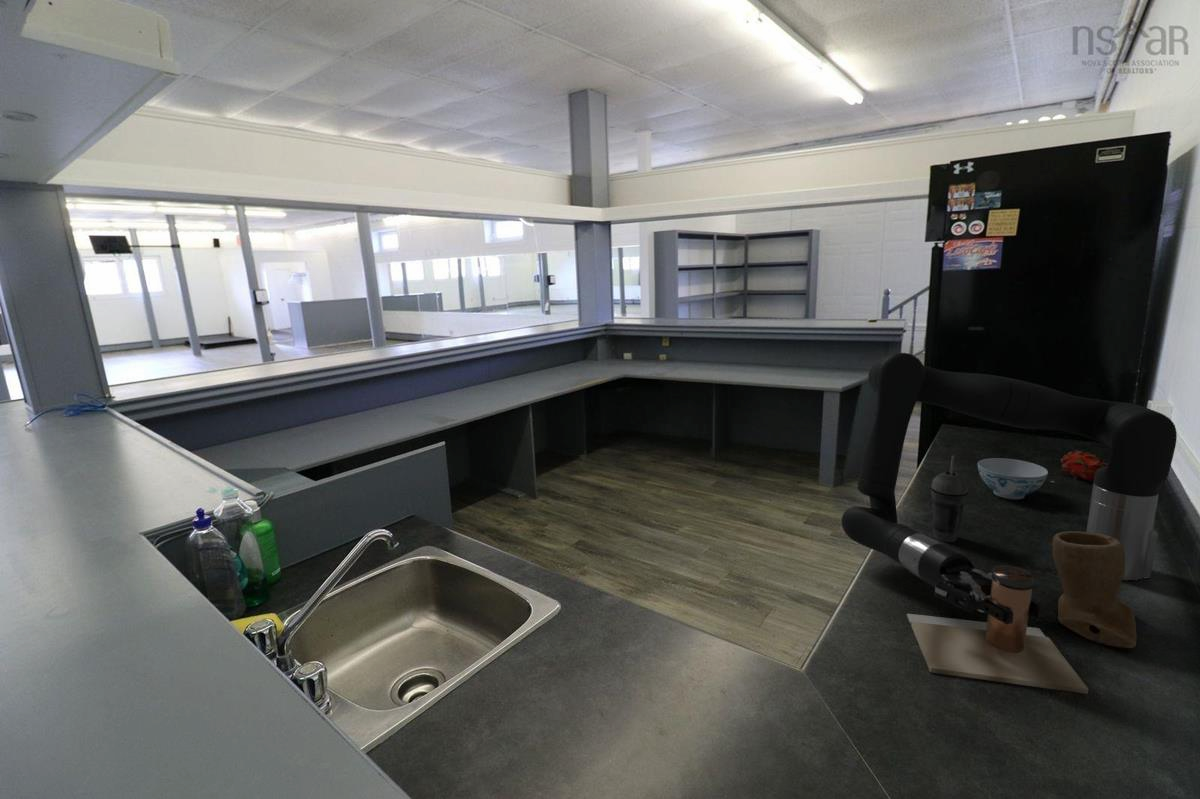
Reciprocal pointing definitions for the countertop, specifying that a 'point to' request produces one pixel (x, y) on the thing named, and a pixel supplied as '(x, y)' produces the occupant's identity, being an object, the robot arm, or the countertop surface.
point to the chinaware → (1011, 477)
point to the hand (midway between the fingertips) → (1025, 615)
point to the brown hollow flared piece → (1093, 588)
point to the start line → (962, 623)
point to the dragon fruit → (1082, 464)
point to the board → (995, 658)
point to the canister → (1010, 607)
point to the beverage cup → (948, 504)
